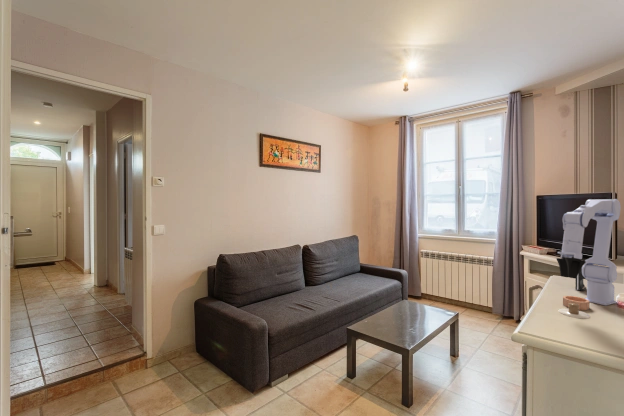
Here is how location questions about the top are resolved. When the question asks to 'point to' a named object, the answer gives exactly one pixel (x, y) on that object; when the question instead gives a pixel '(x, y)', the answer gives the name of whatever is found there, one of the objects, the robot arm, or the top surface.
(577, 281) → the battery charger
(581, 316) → the lid
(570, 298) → the bowl
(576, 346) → the top surface
